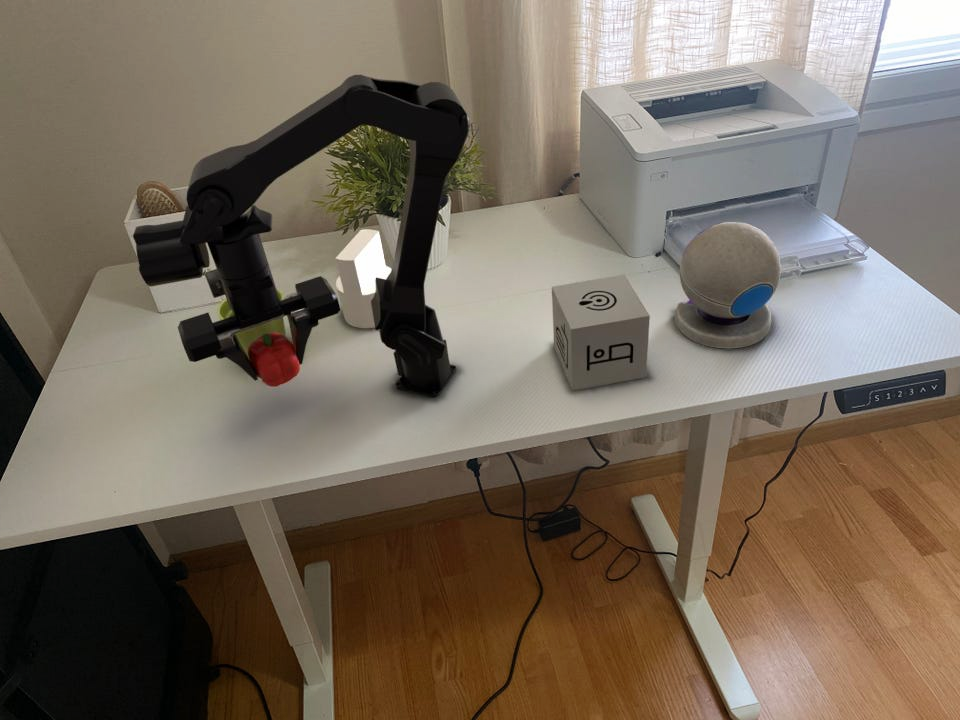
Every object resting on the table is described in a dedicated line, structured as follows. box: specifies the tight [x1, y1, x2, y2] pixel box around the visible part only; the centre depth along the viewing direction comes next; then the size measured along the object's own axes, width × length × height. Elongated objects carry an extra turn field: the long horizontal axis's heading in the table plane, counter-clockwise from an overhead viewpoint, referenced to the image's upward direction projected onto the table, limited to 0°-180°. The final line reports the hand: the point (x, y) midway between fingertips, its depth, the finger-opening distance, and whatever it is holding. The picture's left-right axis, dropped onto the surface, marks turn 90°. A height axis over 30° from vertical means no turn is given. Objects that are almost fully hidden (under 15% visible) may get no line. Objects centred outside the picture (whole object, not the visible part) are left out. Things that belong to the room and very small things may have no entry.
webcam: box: [674, 221, 782, 349], centre depth 100 cm, size 13×13×15 cm
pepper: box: [248, 332, 301, 388], centre depth 94 cm, size 6×6×7 cm
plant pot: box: [216, 287, 287, 360], centre depth 107 cm, size 9×9×9 cm
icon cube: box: [551, 274, 651, 391], centre depth 98 cm, size 10×10×10 cm
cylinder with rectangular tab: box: [335, 229, 392, 329], centre depth 112 cm, size 9×9×12 cm
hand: (278, 370), depth 95 cm, fingers closed on pepper, 5 cm apart
